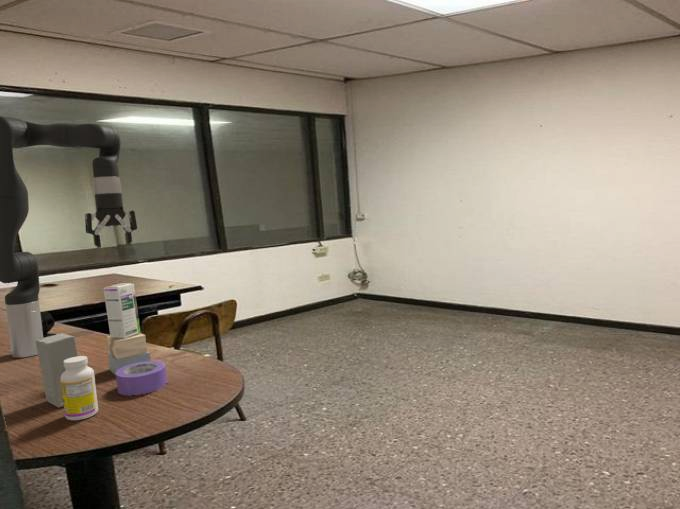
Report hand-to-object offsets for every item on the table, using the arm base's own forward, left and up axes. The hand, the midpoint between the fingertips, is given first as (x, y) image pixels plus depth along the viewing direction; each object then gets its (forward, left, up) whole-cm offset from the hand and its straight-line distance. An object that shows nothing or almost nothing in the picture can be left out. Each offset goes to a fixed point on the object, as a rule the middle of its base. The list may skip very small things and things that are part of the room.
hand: (113, 246), depth 157 cm
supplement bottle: (+42, -22, -34) cm, 59 cm away
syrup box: (+16, -4, -24) cm, 30 cm away
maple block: (+17, -4, -29) cm, 34 cm away
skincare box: (+29, -23, -34) cm, 50 cm away
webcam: (-46, -14, -34) cm, 59 cm away
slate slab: (+17, -4, -34) cm, 38 cm away
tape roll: (+34, -6, -34) cm, 49 cm away
